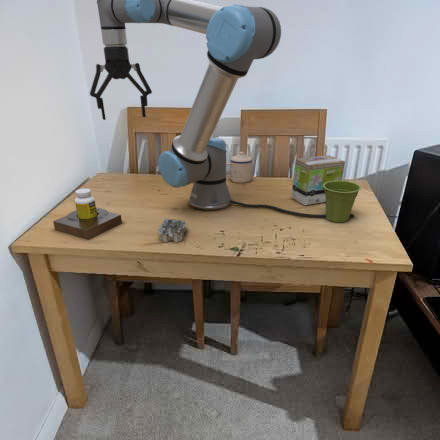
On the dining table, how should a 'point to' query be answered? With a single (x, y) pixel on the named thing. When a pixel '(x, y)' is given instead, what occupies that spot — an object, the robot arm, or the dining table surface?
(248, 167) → the teacup with lid
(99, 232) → the bottle stand
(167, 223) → the egg carton
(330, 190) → the plant pot
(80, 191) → the pill bottle
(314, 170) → the tea box
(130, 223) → the dining table surface
